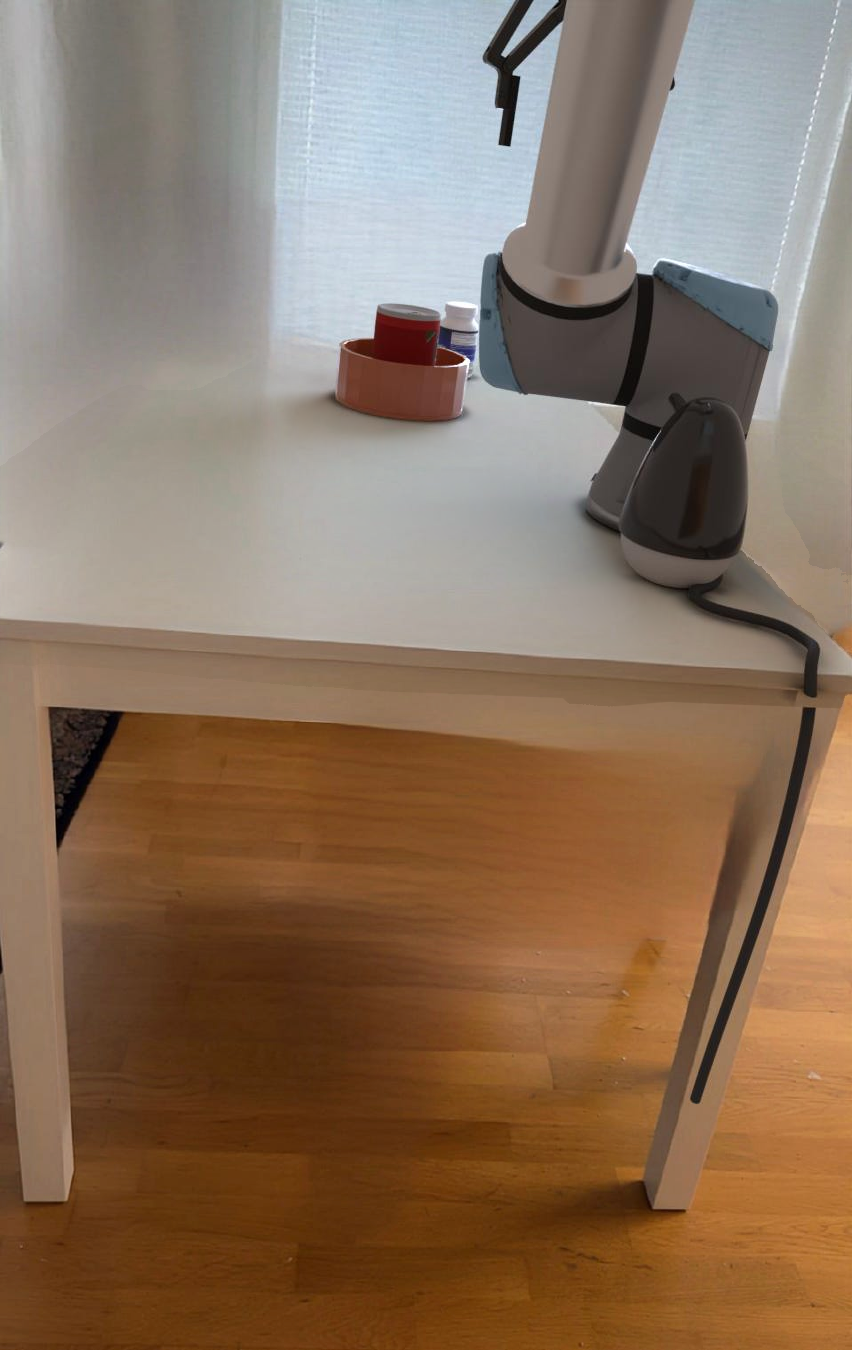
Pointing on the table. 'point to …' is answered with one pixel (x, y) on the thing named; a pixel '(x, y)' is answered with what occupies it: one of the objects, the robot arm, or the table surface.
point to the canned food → (406, 334)
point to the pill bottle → (460, 330)
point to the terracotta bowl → (400, 384)
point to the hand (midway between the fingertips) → (565, 155)
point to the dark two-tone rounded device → (688, 496)
